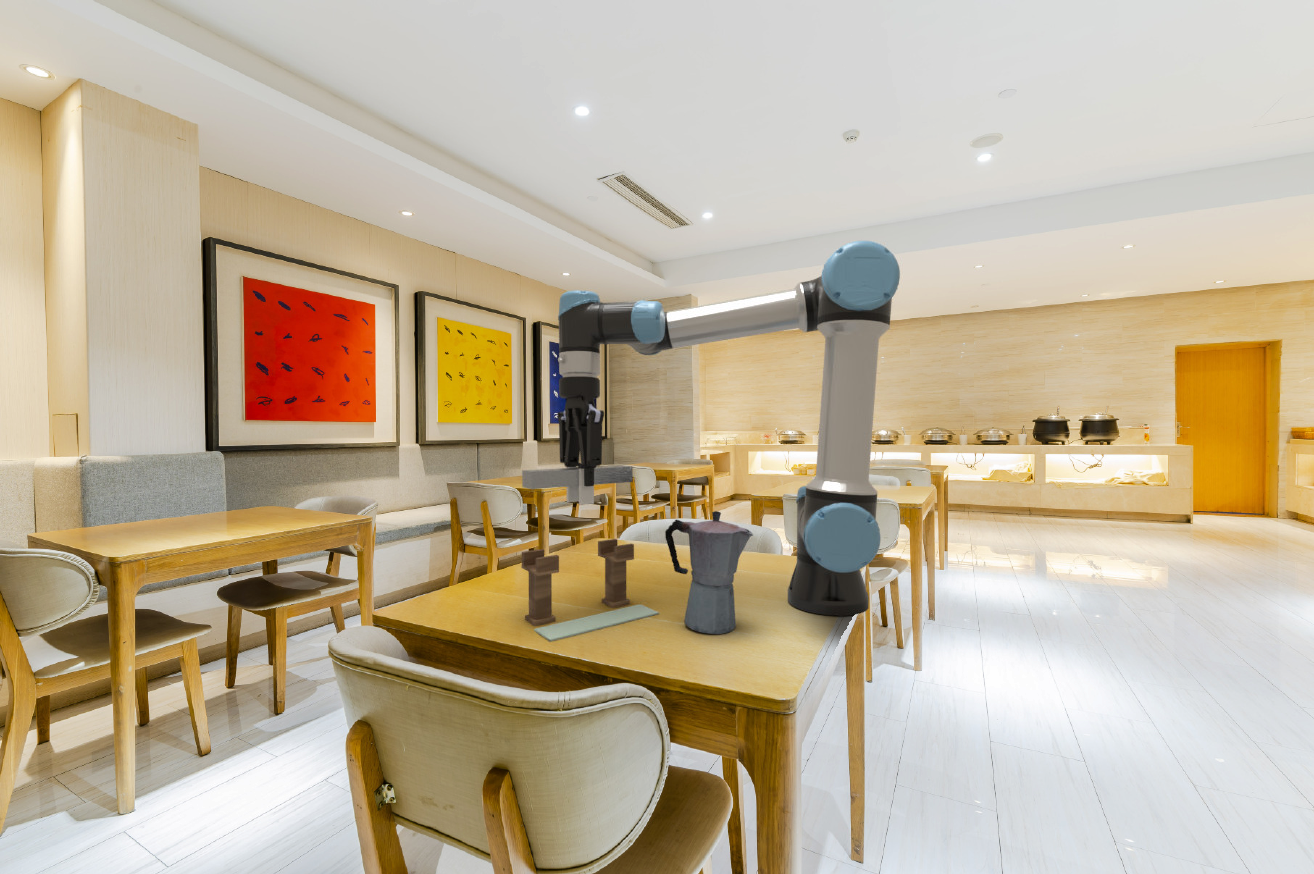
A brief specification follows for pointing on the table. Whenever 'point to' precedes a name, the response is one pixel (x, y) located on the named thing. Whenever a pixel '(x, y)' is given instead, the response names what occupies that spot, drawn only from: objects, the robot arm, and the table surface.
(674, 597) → the table surface
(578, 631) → the green mat
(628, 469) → the steel bar
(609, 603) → the walnut standards
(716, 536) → the moka pot
